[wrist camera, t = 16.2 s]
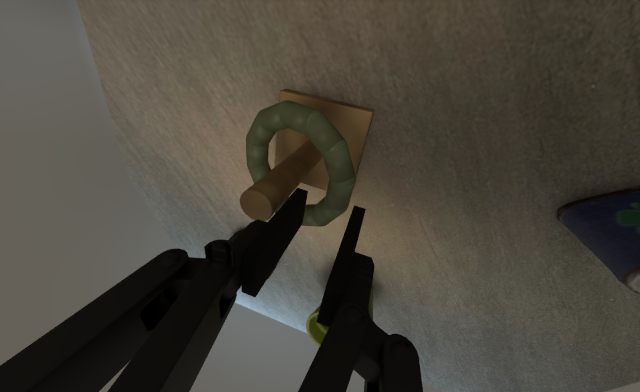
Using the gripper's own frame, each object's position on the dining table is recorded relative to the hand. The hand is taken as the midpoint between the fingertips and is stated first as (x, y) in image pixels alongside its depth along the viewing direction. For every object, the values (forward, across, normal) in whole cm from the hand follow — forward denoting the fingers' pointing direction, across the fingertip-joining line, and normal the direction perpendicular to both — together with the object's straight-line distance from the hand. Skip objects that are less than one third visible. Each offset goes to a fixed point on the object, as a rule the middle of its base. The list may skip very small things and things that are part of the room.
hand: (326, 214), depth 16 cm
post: (+13, -4, 0) cm, 14 cm away
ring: (+5, -4, 0) cm, 6 cm away
